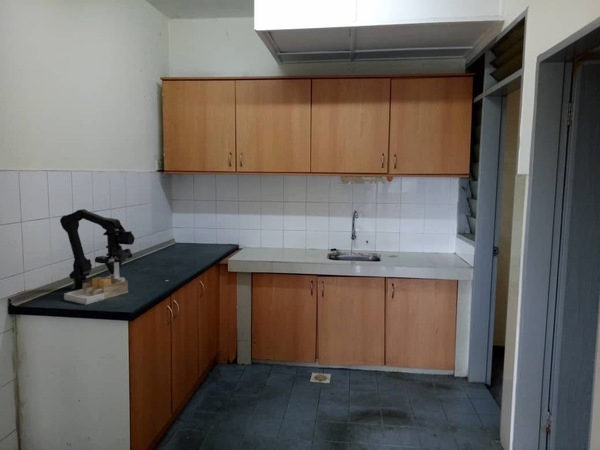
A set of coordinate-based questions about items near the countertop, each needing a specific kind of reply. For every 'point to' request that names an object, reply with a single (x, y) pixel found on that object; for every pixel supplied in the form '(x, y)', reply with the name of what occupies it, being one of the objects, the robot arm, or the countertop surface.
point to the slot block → (106, 289)
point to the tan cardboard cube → (104, 282)
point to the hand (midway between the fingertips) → (114, 273)
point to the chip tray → (82, 297)
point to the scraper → (115, 274)
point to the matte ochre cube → (96, 281)
